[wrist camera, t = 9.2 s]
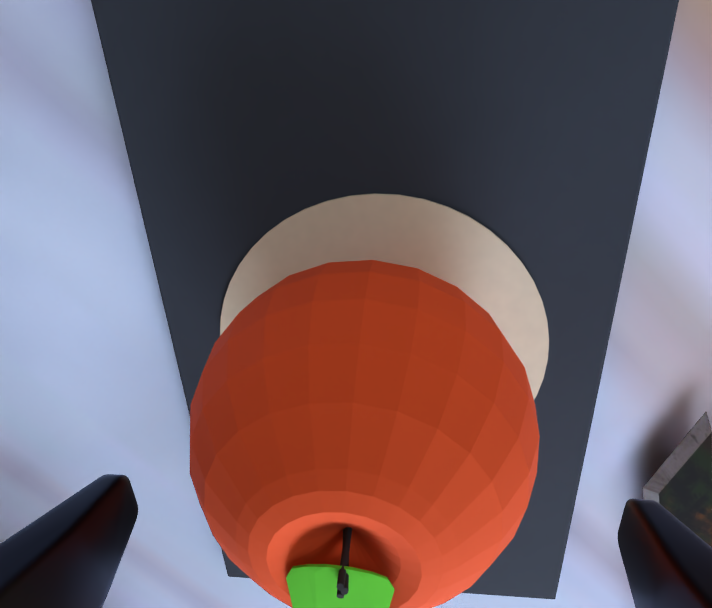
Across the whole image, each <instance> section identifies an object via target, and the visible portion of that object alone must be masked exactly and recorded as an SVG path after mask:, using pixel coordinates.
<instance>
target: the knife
mask: <svg viewBox="0 0 712 608" xmlns="http://www.w3.org/2000/svg"><path fill="white" fill-rule="evenodd" d="M643 498H644V499H647V500H654V501H656V502H658V503H659V504H660V505H662V506H663V507H664V508H665V509H666V510H668V511H669V512H670V513H671V514H672V515H674V516H675V517H676V518H677V519H678V520H679V521H681V522H682V523H683V524H684V525H685V526H687V527H688V528H689V529H690V530H691V531H692V532H694V533H695V534H696V535H697V536H698V537H700V538H701V539H702V540H703V541H704V542H706V543H707V544H708V545H709V546H710V547H711V548H712V430H711V427H710V423H709V420H708V416H707V413H706V412H705V413H704V414H703V416H702V417H701V418H700V419H699V420H698V422H697V423H696V424H695V425H694V427H693V428H692V429H691V430H690V431H689V433H688V434H687V435H686V436H685V437H684V439H683V440H682V441H681V442H680V443H679V445H678V446H677V447H676V448H675V449H674V451H673V452H672V453H671V454H670V455H669V457H668V458H667V459H666V460H665V462H664V463H663V464H662V465H661V466H660V468H659V469H658V470H657V471H656V472H655V474H654V475H653V476H652V477H651V478H650V480H649V481H648V482H647V483H646V484H645V486H644V487H643Z"/></svg>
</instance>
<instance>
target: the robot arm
mask: <svg viewBox="0 0 712 608" xmlns="http://www.w3.org/2000/svg"><path fill="white" fill-rule="evenodd" d="M137 515H138V505H137V502H136V498H135V495H134V492H133V489H132V486H131V483H130V480H129V478H128V477H126V476H125V475H113V474H107V475H103V476H101V477H100V478H98V479H97V480H95V481H94V482H92V483H91V484H89V485H88V486H86V487H85V488H83V489H82V490H80V491H79V492H77V493H76V494H74V495H73V496H71V497H70V498H68V499H67V500H65V501H64V502H62V503H61V504H59V505H58V506H56V507H55V508H53V509H52V510H50V511H49V512H47V513H46V514H44V515H43V516H41V517H40V518H38V519H37V520H35V521H34V522H32V523H31V524H29V525H28V526H26V527H25V528H23V529H22V530H20V531H19V532H17V533H16V534H14V535H13V536H11V537H10V538H8V539H7V540H5V541H4V542H3V543H1V544H0V608H102V605H103V603H104V601H105V599H106V596H107V594H108V592H109V589H110V587H111V584H112V582H113V579H114V576H115V574H116V571H117V569H118V566H119V563H120V561H121V558H122V555H123V553H124V550H125V548H126V545H127V542H128V540H129V537H130V535H131V532H132V529H133V527H134V524H135V522H136V519H137ZM618 543H619V548H620V552H621V555H622V559H623V563H624V566H625V570H626V574H627V577H628V581H629V585H630V588H631V592H632V595H633V599H634V603H635V606H636V608H712V548H711V547H710V546H709V545H708V544H707V543H706V542H704V541H703V540H702V539H701V538H700V537H698V536H697V535H696V534H695V533H694V532H692V531H691V530H690V529H689V528H688V527H687V526H685V525H684V524H683V523H682V522H681V521H679V520H678V519H677V518H676V517H675V516H674V515H672V514H671V513H670V512H669V511H668V510H666V509H665V508H664V507H663V506H662V505H660V504H659V503H658V502H656V501H654V500H647V499H630V500H628V501H627V502H626V505H625V508H624V512H623V516H622V519H621V523H620V527H619V531H618Z"/></svg>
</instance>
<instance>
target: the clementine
mask: <svg viewBox="0 0 712 608" xmlns="http://www.w3.org/2000/svg"><path fill="white" fill-rule="evenodd" d="M539 438H540V436H539V429H538V421H537V414H536V407H535V402H534V399H533V395H532V391H531V388H530V384H529V381H528V377H527V373H526V370H525V367H524V365H523V364H522V362H521V361H520V359H519V358H518V356H517V355H516V353H515V352H514V350H513V349H512V347H511V346H510V344H509V343H508V341H507V340H506V338H505V337H504V335H503V334H502V332H501V331H500V329H499V328H498V326H497V325H496V323H495V322H494V320H493V319H492V317H491V316H490V314H489V313H488V312H487V311H486V310H484V309H483V308H482V307H481V306H480V305H478V304H477V303H476V302H475V301H474V300H472V299H471V298H470V297H469V296H468V295H466V294H465V293H464V292H463V291H462V290H460V289H459V288H458V287H457V286H455V285H452V284H450V283H448V282H446V281H444V280H442V279H439V278H437V277H435V276H433V275H431V274H429V273H426V272H424V271H422V270H420V269H418V268H414V267H408V266H403V265H398V264H393V263H387V262H382V261H377V260H361V261H344V262H329V263H326V264H322V265H319V266H316V267H313V268H310V269H307V270H304V271H301V272H298V273H295V274H292V275H289V276H287V277H286V278H284V279H283V280H281V281H280V282H279V283H277V284H276V285H274V286H273V287H271V288H270V289H268V290H267V291H265V292H264V293H262V294H261V295H259V296H258V297H256V298H255V299H254V300H253V301H252V302H251V303H249V304H248V305H247V306H246V307H245V308H244V309H243V310H241V311H240V312H239V313H238V315H237V316H236V317H235V318H234V320H233V321H232V322H231V323H230V325H229V326H228V327H227V328H226V329H225V331H224V332H223V333H222V334H221V336H220V337H219V338H218V339H217V341H216V342H215V344H214V346H213V348H212V351H211V353H210V355H209V358H208V360H207V362H206V365H205V367H204V369H203V372H202V375H201V377H200V380H199V383H198V386H197V388H196V391H195V394H194V397H193V399H192V402H191V405H190V475H191V478H192V481H193V484H194V487H195V490H196V493H197V496H198V499H199V503H200V505H201V508H202V510H203V512H204V515H205V517H206V520H207V522H208V524H209V527H210V529H211V532H212V534H213V536H214V537H215V539H216V540H217V542H218V543H219V545H220V546H221V547H222V549H223V550H224V552H225V553H226V555H227V556H228V558H229V559H230V560H231V561H232V562H233V563H234V564H235V565H237V566H238V567H239V568H240V569H241V570H242V571H243V572H244V573H245V574H246V575H248V576H249V577H250V578H251V579H252V580H253V581H254V582H256V583H257V584H258V585H259V586H260V587H262V588H263V589H264V590H265V591H267V592H268V593H269V594H270V595H272V596H273V597H275V598H277V599H278V600H280V601H282V602H283V603H285V604H287V605H289V606H290V607H292V608H432V607H435V606H438V605H440V604H443V603H445V602H447V601H448V600H450V599H452V598H453V597H455V596H457V595H458V594H460V593H462V592H463V591H465V590H467V589H468V588H470V587H471V586H472V585H473V584H474V583H475V582H476V581H477V580H478V579H479V577H480V576H481V575H482V574H483V573H484V572H485V571H486V570H487V569H488V568H489V567H490V566H491V564H492V563H493V562H494V561H495V560H496V558H497V557H498V556H499V555H500V554H501V552H502V551H503V550H504V549H505V548H506V546H507V545H508V544H509V543H510V542H511V540H512V539H513V538H514V536H515V534H516V531H517V529H518V527H519V525H520V523H521V520H522V518H523V516H524V514H525V511H526V509H527V507H528V503H529V500H530V496H531V493H532V489H533V485H534V482H535V478H536V475H537V465H538V451H539Z"/></svg>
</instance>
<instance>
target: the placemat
mask: <svg viewBox="0 0 712 608" xmlns="http://www.w3.org/2000/svg"><path fill="white" fill-rule="evenodd" d="M91 2H92V6H93V10H94V14H95V19H96V23H97V27H98V31H99V36H100V40H101V44H102V48H103V52H104V57H105V61H106V65H107V69H108V73H109V78H110V82H111V86H112V90H113V94H114V99H115V103H116V107H117V111H118V115H119V120H120V124H121V128H122V132H123V136H124V141H125V145H126V149H127V153H128V157H129V162H130V166H131V170H132V174H133V178H134V183H135V187H136V191H137V195H138V199H139V204H140V208H141V212H142V216H143V220H144V225H145V229H146V233H147V237H148V241H149V246H150V250H151V254H152V258H153V263H154V267H155V271H156V275H157V279H158V284H159V288H160V292H161V296H162V300H163V305H164V309H165V313H166V317H167V321H168V326H169V330H170V334H171V338H172V342H173V347H174V351H175V355H176V359H177V363H178V368H179V372H180V376H181V380H182V384H183V389H184V393H185V397H186V401H187V405H188V410H189V414H190V405H191V402H192V399H193V397H194V394H195V391H196V388H197V386H198V383H199V380H200V377H201V375H202V372H203V369H204V367H205V365H206V362H207V360H208V358H209V355H210V353H211V351H212V348H213V346H214V344H215V342H216V341H217V339H218V338H219V337H220V336H221V334H222V333H223V332H224V331H225V329H226V328H227V327H228V326H229V325H230V323H231V322H232V321H233V320H234V318H235V317H236V316H237V315H238V313H239V312H240V311H241V310H243V309H244V308H245V307H246V306H247V305H248V304H249V303H251V302H252V301H253V300H254V299H255V298H256V297H258V296H259V295H261V294H262V293H264V292H265V291H267V290H268V289H270V288H271V287H273V286H274V285H276V284H277V283H279V282H280V281H281V280H283V279H284V278H286V277H287V276H289V275H292V274H295V273H298V272H301V271H304V270H307V269H310V268H313V267H316V266H319V265H322V264H326V263H329V262H344V261H361V260H377V261H382V262H387V263H393V264H398V265H403V266H408V267H414V268H418V269H420V270H422V271H424V272H426V273H429V274H431V275H433V276H435V277H437V278H439V279H442V280H444V281H446V282H448V283H450V284H452V285H455V286H457V287H458V288H459V289H460V290H462V291H463V292H464V293H465V294H466V295H468V296H469V297H470V298H471V299H472V300H474V301H475V302H476V303H477V304H478V305H480V306H481V307H482V308H483V309H484V310H486V311H487V312H488V313H489V314H490V316H491V317H492V319H493V320H494V322H495V323H496V325H497V326H498V328H499V329H500V331H501V332H502V334H503V335H504V337H505V338H506V340H507V341H508V343H509V344H510V346H511V347H512V349H513V350H514V352H515V353H516V355H517V356H518V358H519V359H520V361H521V362H522V364H523V365H524V367H525V370H526V373H527V377H528V381H529V384H530V388H531V391H532V395H533V399H534V402H535V407H536V414H537V421H538V429H539V436H540V438H539V451H538V465H537V475H536V478H535V482H534V485H533V489H532V493H531V496H530V500H529V503H528V507H527V509H526V511H525V514H524V516H523V518H522V520H521V523H520V525H519V527H518V529H517V531H516V534H515V536H514V538H513V539H512V540H511V542H510V543H509V544H508V545H507V546H506V548H505V549H504V550H503V551H502V552H501V554H500V555H499V556H498V557H497V558H496V560H495V561H494V562H493V563H492V564H491V566H490V567H489V568H488V569H487V570H486V571H485V572H484V573H483V574H482V575H481V576H480V577H479V579H478V580H477V581H476V582H475V583H474V584H473V585H472V586H471V587H470V588H468V589H467V590H465V591H463V592H462V593H472V594H487V595H501V596H515V597H529V598H544V599H555V597H556V592H557V587H558V582H559V577H560V573H561V568H562V563H563V558H564V553H565V548H566V543H567V539H568V534H569V529H570V524H571V519H572V514H573V510H574V505H575V500H576V495H577V490H578V485H579V481H580V476H581V471H582V466H583V461H584V456H585V452H586V447H587V442H588V437H589V432H590V427H591V423H592V418H593V413H594V408H595V403H596V398H597V394H598V389H599V384H600V379H601V374H602V369H603V365H604V360H605V355H606V350H607V345H608V340H609V336H610V331H611V326H612V321H613V316H614V311H615V307H616V302H617V297H618V292H619V287H620V282H621V278H622V273H623V268H624V263H625V258H626V253H627V249H628V244H629V239H630V234H631V229H632V224H633V219H634V215H635V210H636V205H637V200H638V195H639V190H640V186H641V181H642V176H643V171H644V166H645V161H646V157H647V152H648V147H649V142H650V137H651V132H652V128H653V123H654V118H655V113H656V108H657V103H658V99H659V94H660V89H661V84H662V79H663V74H664V70H665V65H666V60H667V55H668V50H669V45H670V41H671V36H672V31H673V26H674V21H675V16H676V12H677V7H678V2H679V0H91ZM221 548H222V547H221ZM222 553H223V557H224V561H225V565H226V569H227V574H228V576H230V577H244V578H250V577H249V576H248V575H246V574H245V573H244V572H243V571H242V570H241V569H240V568H239V567H238V566H237V565H235V564H234V563H233V562H232V561H231V560H230V559H229V558H228V556H227V555H226V553H225V552H224V550H223V549H222Z"/></svg>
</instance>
